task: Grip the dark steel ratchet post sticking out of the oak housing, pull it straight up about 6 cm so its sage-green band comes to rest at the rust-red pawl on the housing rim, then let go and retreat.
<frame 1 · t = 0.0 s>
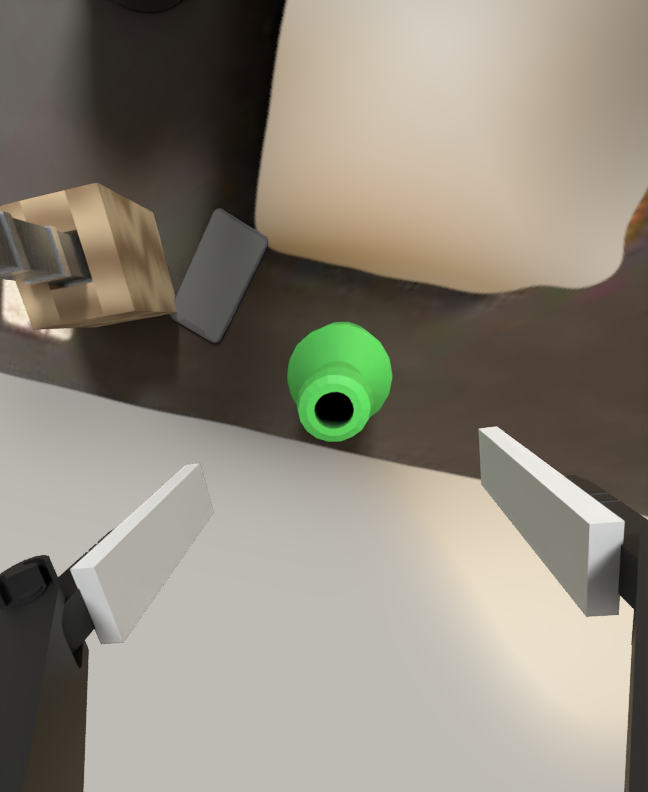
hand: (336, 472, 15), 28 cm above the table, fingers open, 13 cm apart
column: (44, 257, 30), point 11 cm above the table, slide at 0.0 cm
housing: (124, 272, 41), on the table
bottle: (342, 355, 42), on the table
smartphone: (219, 279, 41), on the table
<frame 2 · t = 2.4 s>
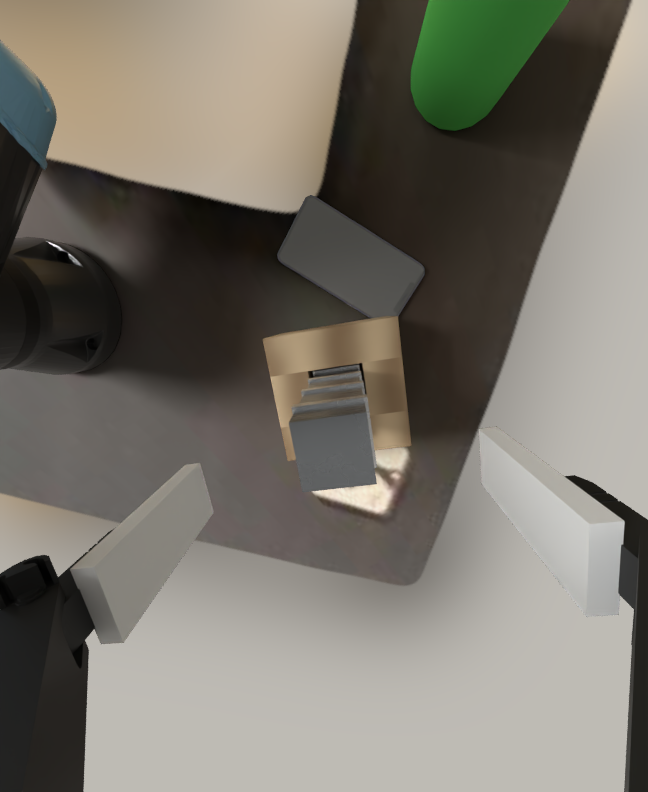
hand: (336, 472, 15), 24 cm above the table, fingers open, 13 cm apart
column: (338, 399, 27), point 11 cm above the table, slide at 0.0 cm
housing: (340, 375, 38), on the table
bottle: (454, 83, 30), on the table
smartphone: (350, 264, 35), on the table
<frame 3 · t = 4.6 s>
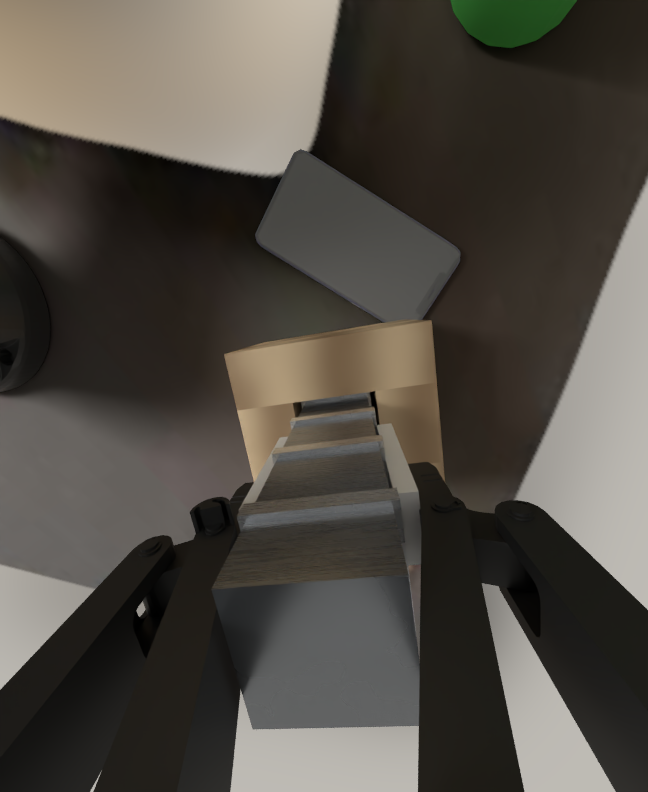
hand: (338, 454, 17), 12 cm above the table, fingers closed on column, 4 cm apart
column: (338, 449, 17), point 11 cm above the table, slide at 0.0 cm, touching gripper
housing: (342, 399, 28), on the table
smartphone: (356, 249, 25), on the table
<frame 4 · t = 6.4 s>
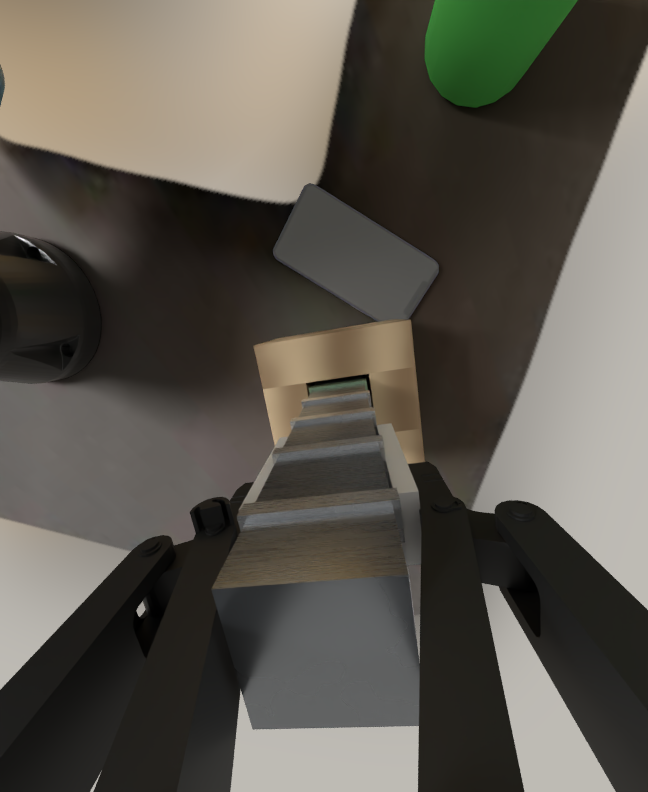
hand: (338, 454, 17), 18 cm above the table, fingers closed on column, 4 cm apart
column: (338, 449, 17), point 17 cm above the table, slide at 6.0 cm, touching gripper
housing: (343, 385, 34), on the table
bottle: (474, 53, 26), on the table
smartphone: (354, 261, 31), on the table
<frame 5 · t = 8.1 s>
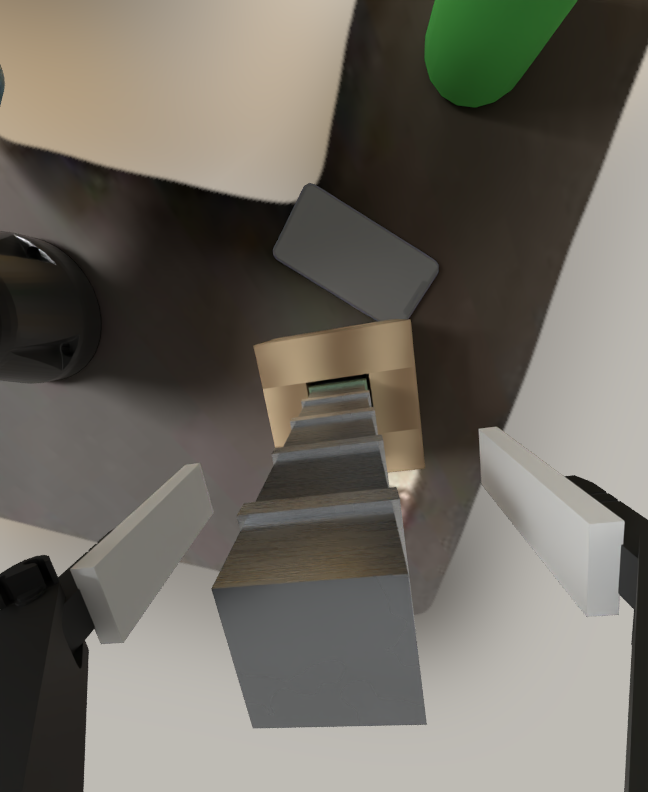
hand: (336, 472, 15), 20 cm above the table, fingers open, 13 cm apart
column: (338, 449, 17), point 17 cm above the table, slide at 6.0 cm
housing: (343, 385, 34), on the table
bottle: (474, 53, 26), on the table
smartphone: (354, 261, 31), on the table
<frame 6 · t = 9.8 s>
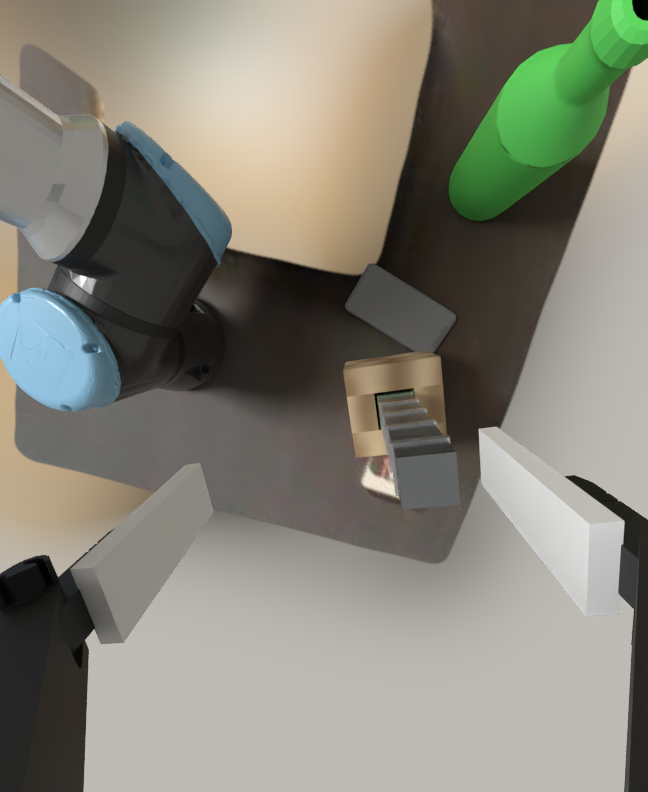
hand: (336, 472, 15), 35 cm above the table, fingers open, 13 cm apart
column: (405, 429, 33), point 17 cm above the table, slide at 6.0 cm
housing: (389, 394, 49), on the table
bottle: (480, 187, 42), on the table
smartphone: (399, 312, 47), on the table
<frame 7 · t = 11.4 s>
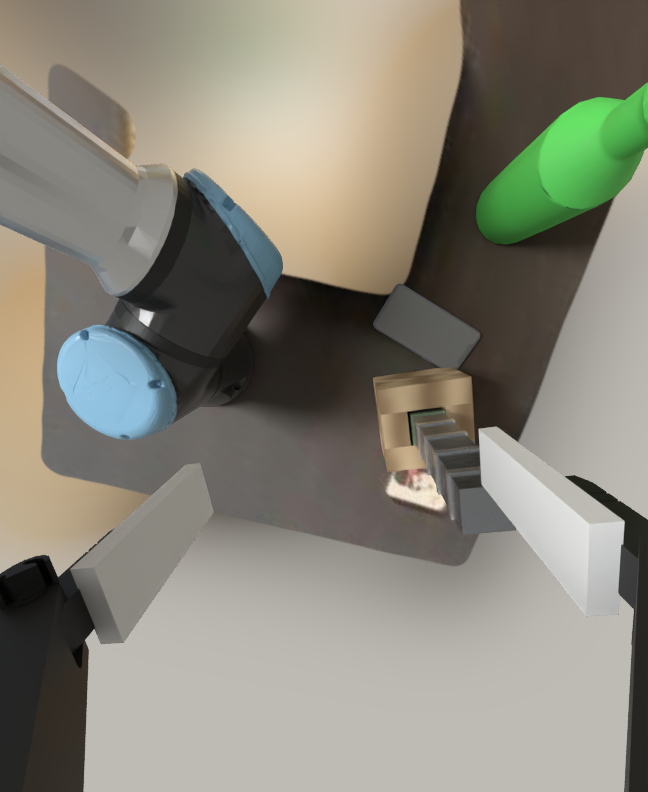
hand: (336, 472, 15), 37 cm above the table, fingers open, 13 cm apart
column: (445, 450, 35), point 17 cm above the table, slide at 6.0 cm
housing: (414, 407, 51), on the table
bottle: (505, 212, 44), on the table
smartphone: (425, 329, 49), on the table
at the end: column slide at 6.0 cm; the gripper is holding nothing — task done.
